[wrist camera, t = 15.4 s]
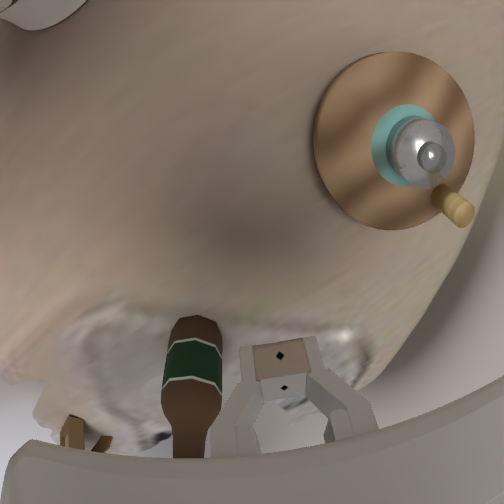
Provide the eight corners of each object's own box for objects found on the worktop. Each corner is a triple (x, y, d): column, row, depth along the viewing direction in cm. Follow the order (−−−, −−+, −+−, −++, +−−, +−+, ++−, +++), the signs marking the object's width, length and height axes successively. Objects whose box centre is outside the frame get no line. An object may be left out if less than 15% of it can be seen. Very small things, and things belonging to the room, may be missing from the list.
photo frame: (60, 430, 71) (48, 493, 50) (69, 413, 62) (53, 491, 41) (100, 446, 76) (92, 509, 56) (117, 432, 68) (108, 509, 47)
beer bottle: (232, 335, 45) (238, 490, 25) (195, 353, 47) (188, 495, 27) (198, 305, 41) (186, 478, 21) (160, 327, 43) (137, 481, 23)
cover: (374, 138, 26) (392, 148, 23) (423, 103, 24) (445, 110, 21) (402, 190, 29) (421, 206, 26) (446, 156, 27) (468, 169, 24)
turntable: (271, 140, 28) (282, 159, 22) (401, 18, 21) (440, 12, 15) (383, 250, 36) (407, 285, 30) (484, 151, 29) (519, 170, 23)
